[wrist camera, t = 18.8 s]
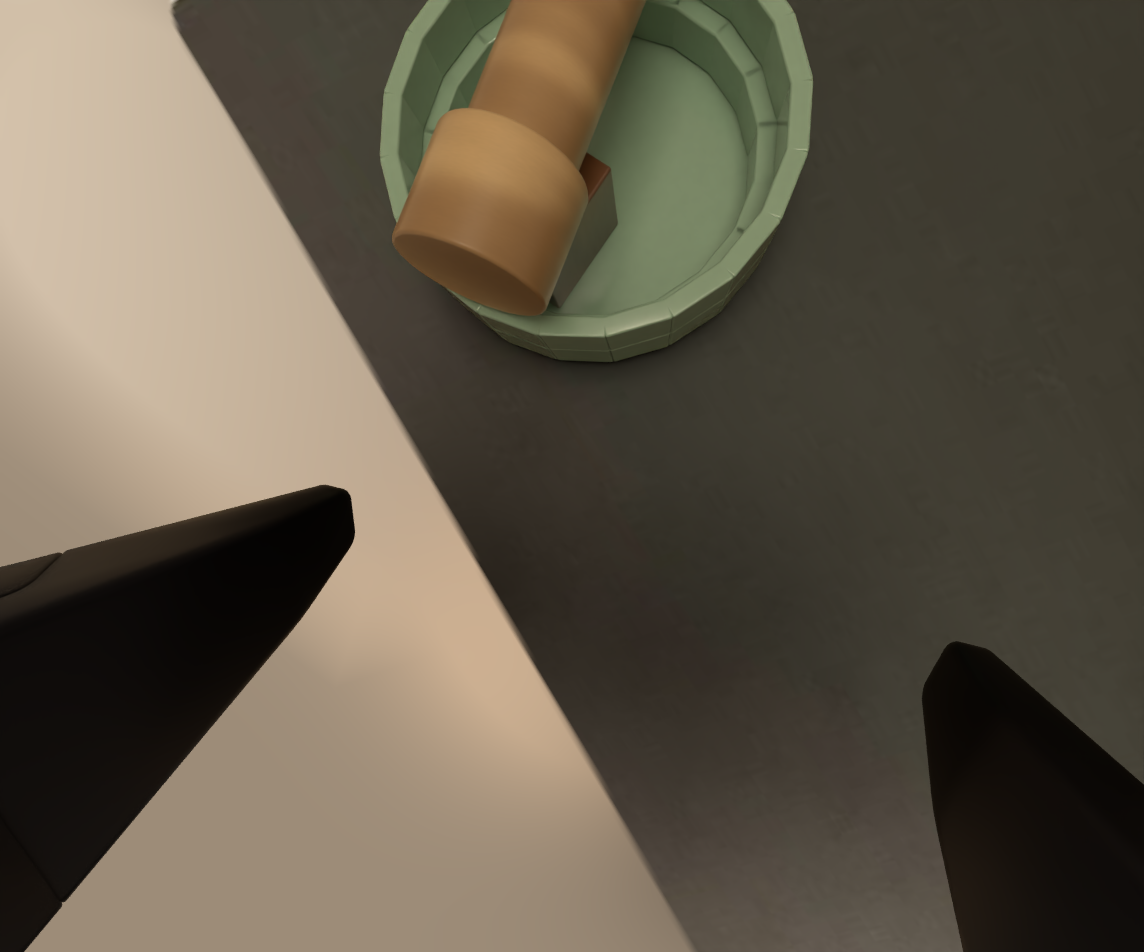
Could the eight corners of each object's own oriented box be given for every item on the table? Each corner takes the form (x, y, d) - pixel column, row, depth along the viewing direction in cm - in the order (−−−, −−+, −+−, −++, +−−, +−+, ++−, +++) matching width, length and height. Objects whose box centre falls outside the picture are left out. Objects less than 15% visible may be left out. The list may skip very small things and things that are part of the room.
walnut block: (619, 223, 19) (559, 309, 19) (536, 169, 20) (479, 255, 20) (612, 167, 16) (540, 273, 16) (511, 103, 16) (443, 207, 16)
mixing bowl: (544, 431, 20) (519, 420, 16) (372, 156, 21) (307, 81, 17) (851, 230, 19) (905, 164, 15) (652, -54, 20) (652, -188, 16)
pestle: (538, 276, 12) (791, -365, 12) (363, 210, 12) (618, -421, 12) (550, 331, 16) (740, -153, 16) (419, 281, 16) (610, -198, 16)
